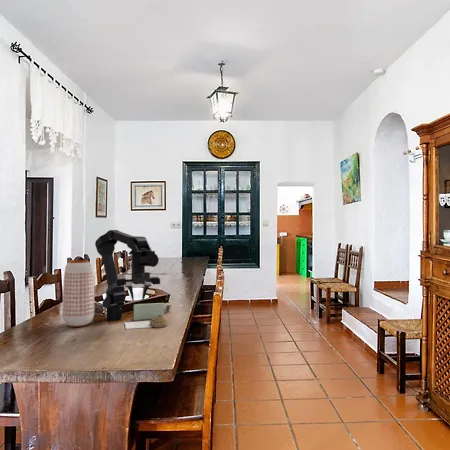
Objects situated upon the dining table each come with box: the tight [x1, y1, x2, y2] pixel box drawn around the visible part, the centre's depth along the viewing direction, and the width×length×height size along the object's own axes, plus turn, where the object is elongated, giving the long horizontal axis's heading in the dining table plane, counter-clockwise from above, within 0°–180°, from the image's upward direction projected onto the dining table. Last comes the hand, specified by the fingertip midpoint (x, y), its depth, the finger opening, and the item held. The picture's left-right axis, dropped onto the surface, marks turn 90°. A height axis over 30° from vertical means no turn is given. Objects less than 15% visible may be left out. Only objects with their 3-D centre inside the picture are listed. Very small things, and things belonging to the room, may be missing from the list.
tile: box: [124, 320, 153, 330], centre depth 170 cm, size 11×11×1 cm
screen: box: [133, 302, 165, 322], centre depth 182 cm, size 14×4×7 cm, turn 107°
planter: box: [61, 259, 96, 328], centre depth 172 cm, size 13×13×28 cm
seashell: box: [150, 315, 170, 328], centre depth 171 cm, size 8×6×8 cm
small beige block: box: [164, 302, 172, 314], centre depth 197 cm, size 4×5×4 cm
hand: (138, 300), depth 171 cm, fingers open, 4 cm apart
